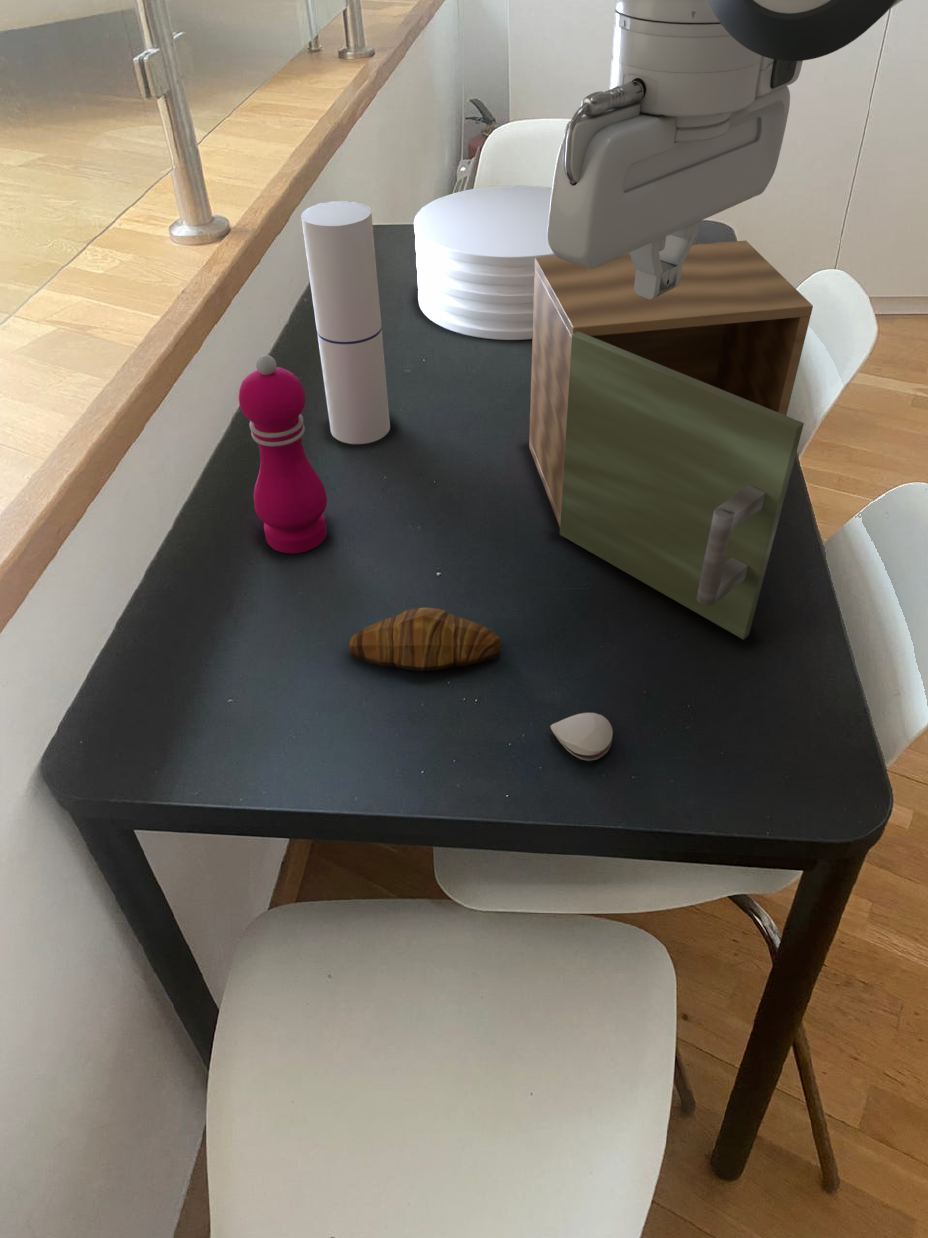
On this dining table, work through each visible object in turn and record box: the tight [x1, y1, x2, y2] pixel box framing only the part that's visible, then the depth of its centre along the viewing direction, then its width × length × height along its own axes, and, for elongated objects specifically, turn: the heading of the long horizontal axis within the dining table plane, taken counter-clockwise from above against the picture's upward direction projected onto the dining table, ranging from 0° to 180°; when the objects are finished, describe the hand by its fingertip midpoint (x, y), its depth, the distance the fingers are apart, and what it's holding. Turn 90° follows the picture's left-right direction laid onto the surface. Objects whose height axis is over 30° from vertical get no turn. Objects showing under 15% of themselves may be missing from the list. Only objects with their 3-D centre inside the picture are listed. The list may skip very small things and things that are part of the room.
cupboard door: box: [559, 332, 805, 640], centre depth 80 cm, size 6×22×22 cm, turn 44°
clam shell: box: [550, 712, 614, 762], centre depth 73 cm, size 4×5×2 cm
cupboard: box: [528, 240, 814, 527], centre depth 94 cm, size 16×22×22 cm
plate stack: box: [413, 185, 555, 341], centre depth 133 cm, size 28×28×12 cm
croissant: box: [348, 606, 503, 672], centre depth 80 cm, size 14×7×5 cm, turn 89°
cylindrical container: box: [300, 200, 391, 445], centre depth 102 cm, size 7×7×25 cm
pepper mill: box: [238, 354, 328, 554], centre depth 88 cm, size 7×7×20 cm
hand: (656, 291), depth 65 cm, fingers closed
